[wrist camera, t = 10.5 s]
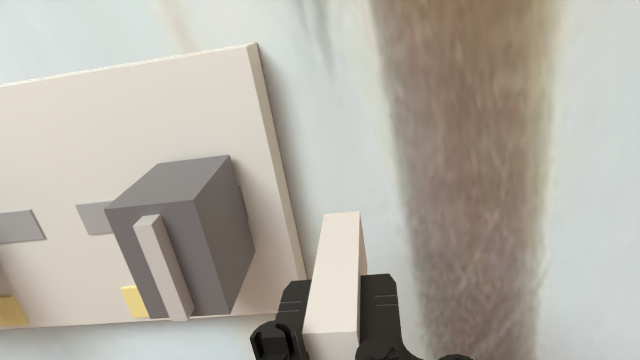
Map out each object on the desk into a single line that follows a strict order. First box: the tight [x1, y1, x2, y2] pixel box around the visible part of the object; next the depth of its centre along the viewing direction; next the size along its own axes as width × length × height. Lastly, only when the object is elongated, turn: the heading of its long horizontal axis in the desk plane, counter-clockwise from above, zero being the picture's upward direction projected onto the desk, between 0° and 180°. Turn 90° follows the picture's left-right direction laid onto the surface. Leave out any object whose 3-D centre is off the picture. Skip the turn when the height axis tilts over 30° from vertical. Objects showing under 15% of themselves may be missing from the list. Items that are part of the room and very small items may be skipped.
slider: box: [103, 155, 256, 322], centre depth 20 cm, size 4×6×6 cm, turn 9°
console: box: [0, 42, 307, 330], centre depth 25 cm, size 36×16×2 cm, turn 99°
